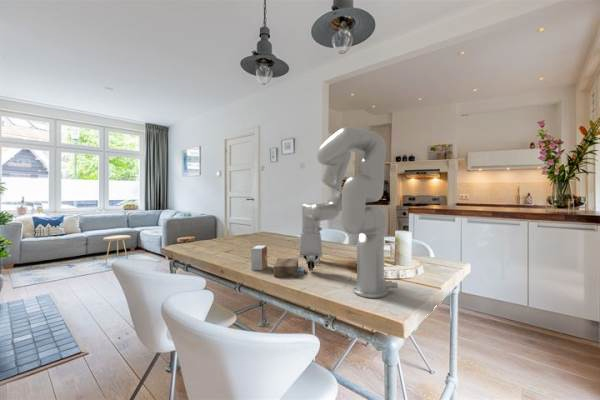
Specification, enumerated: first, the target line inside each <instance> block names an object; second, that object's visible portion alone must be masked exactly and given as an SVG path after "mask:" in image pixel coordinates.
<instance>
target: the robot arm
mask: <svg viewBox="0 0 600 400" xmlns="http://www.w3.org/2000/svg"><path fill="white" fill-rule="evenodd" d="M351 152H352V153H353V152H354V153H362V154H363V156H362V158H361V161H360V164H359V174H354V175H352V176H350V177H348V178H347V179H346V180H345V182H344V184H343V181H344V177H345V174H346V172H347V168H348V167H349V163H350V161H351V156H352V153H351ZM386 153H387V145H386V142H385V139H384V137H382V135H381V134H379V133H377V132H376V131H372V130H367V129H365V128H360V127H359V128H358V127H354V126H344V127H342V128H341V127H340V128H339V129H338V130H337V131H336V132H335V133H333V134H332V135H331V136H330V137H328V138H327V139H326V140H325V141H324V142H323V143H322V144H321V145H320V146H319V148H318V151H317V155H316V157H317V160H318V162H319V163H320V164H321V165H324V166H325V167H324V171H323V173H322V177H321V181H322V183H323V184H324V185H326V186H327V187H329V188H330V190H331V196H330V199H329V202H321V203H315V202H314V203H312V202H311V203H303V204H302V206H301V222H302V224H301V225H302V226H301V227H302V228H301V230H302V232H301V233H300V236H299V255H298V257H299V258H302V259H305V260H307V262H308V264H307V269H308V270H309V271H314V269H315V264H314V262H315V260H316V259H317V258H320V259H321V258H322V257H323V248H322V247H323V246H322V245H323V244H322V235H321V231H323V229H322V227H319V221H320V222H321V221H329V220H335V219H336V218H337V217H338V216H339V215H340V213H341V225H342V228H343V229H344V231H346V232H347V233H348V234H350V235H358V236H357V239H356V240H357V241H356V279H357V280H356V284H354V286H352V292H353V293H354V294H356V295H358V296H360V297H363V298H369V299H370V298H371V299H376V298H377V299H378V298H385V297H387V296H388V295H389V289H390V288H392V289H398V288H399V284H398V281H397V282H393V281H392V280H388V281H387V280H386V279H385V267H384V266H385V263H384V261H385V255H384V254H385V233H386V228H387V217H386V213H385V211H384V210H383V209H382V208H380V207H379V206H377V205H376V206H375V205H366V203H374V202H375V203H376V202H378V201H379V200H381V199H382V197H383V195H384V185H385V161H386V159H385V158H386ZM342 185H343V186H342ZM319 231H320V233H319ZM309 255H313V256H312V260H311V261H310V258H309Z"/></svg>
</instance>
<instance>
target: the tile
mask: <svg viewBox="0 0 600 400" xmlns="http://www.w3.org/2000/svg"><path fill="white" fill-rule="evenodd" d="M297 272H302V275H303V276H304V275H305V266H298V267H297ZM302 275H301V276H302Z"/></svg>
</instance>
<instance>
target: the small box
mask: <svg viewBox="0 0 600 400" xmlns="http://www.w3.org/2000/svg"><path fill="white" fill-rule="evenodd" d="M267 246H268V245H258V244H257V245H255V246H254V247H252V248H250V249H251V250H250V254H251V255H250V259H251V260H250V261H251V262H250V263H251V264H250V265H251V271H263V270H265V269H266V268H268V247H267Z"/></svg>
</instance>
